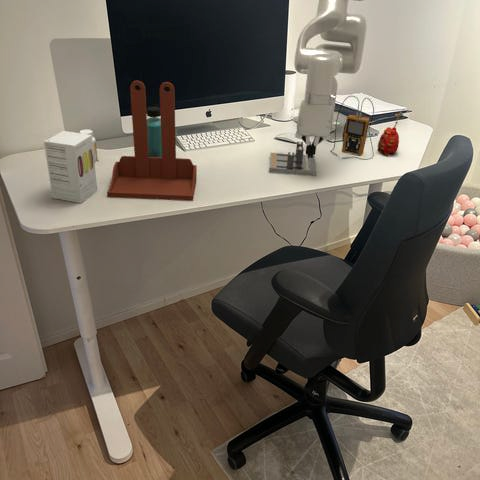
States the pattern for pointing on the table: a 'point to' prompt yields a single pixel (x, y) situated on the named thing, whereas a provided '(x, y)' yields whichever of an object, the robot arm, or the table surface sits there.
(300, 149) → the breaker mid
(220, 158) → the table surface
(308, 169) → the panel
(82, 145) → the supplement box
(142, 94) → the hanging shelf
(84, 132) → the supplement bottle
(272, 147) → the table surface
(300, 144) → the block
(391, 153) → the red clay folk toy
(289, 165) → the breaker near
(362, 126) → the multimeter
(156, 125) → the beverage bottle
